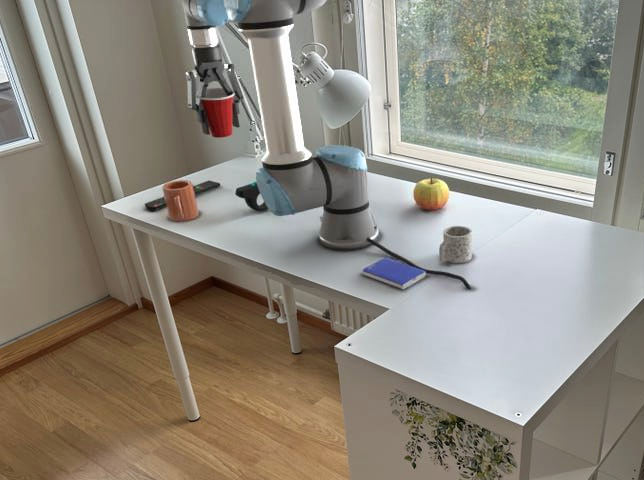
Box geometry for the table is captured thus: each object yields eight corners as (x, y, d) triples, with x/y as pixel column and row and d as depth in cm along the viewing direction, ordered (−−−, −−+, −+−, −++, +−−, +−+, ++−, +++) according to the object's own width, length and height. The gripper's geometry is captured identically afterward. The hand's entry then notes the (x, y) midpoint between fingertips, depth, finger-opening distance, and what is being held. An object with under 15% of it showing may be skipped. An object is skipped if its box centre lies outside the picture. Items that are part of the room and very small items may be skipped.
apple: (443, 198, 205) (443, 171, 200) (453, 210, 197) (453, 182, 192) (410, 203, 203) (409, 175, 198) (419, 215, 195) (418, 187, 190)
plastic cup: (220, 142, 198) (211, 97, 192) (195, 137, 204) (186, 93, 198) (249, 133, 205) (242, 89, 199) (225, 128, 211) (217, 85, 205)
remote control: (220, 187, 220) (219, 183, 219) (154, 212, 205) (153, 208, 204) (210, 184, 223) (209, 180, 222) (143, 208, 208) (142, 204, 207)
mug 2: (455, 249, 176) (454, 223, 172) (477, 255, 172) (477, 230, 168) (429, 263, 170) (428, 237, 166) (451, 270, 166) (451, 244, 162)
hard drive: (362, 269, 165) (402, 283, 158) (386, 256, 170) (425, 270, 163) (362, 275, 166) (402, 290, 159) (386, 262, 171) (426, 276, 164)
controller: (282, 206, 204) (277, 172, 199) (245, 219, 198) (239, 184, 192) (274, 203, 207) (269, 169, 202) (237, 215, 200) (230, 180, 195)
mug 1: (170, 212, 204) (163, 182, 199) (199, 209, 205) (192, 178, 200) (167, 227, 195) (159, 195, 190) (197, 223, 196) (190, 192, 191)
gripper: (233, 38, 200) (247, 120, 212) (161, 49, 188) (181, 136, 201) (247, 40, 195) (261, 124, 207) (174, 52, 183) (193, 140, 196)
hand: (221, 130), depth 204 cm, fingers closed on plastic cup, 9 cm apart
